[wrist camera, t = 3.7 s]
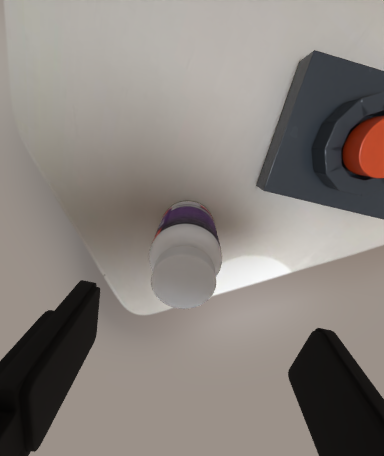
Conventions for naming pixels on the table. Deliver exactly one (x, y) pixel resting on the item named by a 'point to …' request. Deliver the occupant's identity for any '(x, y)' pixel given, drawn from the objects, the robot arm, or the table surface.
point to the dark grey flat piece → (325, 135)
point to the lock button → (366, 148)
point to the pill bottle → (185, 256)
